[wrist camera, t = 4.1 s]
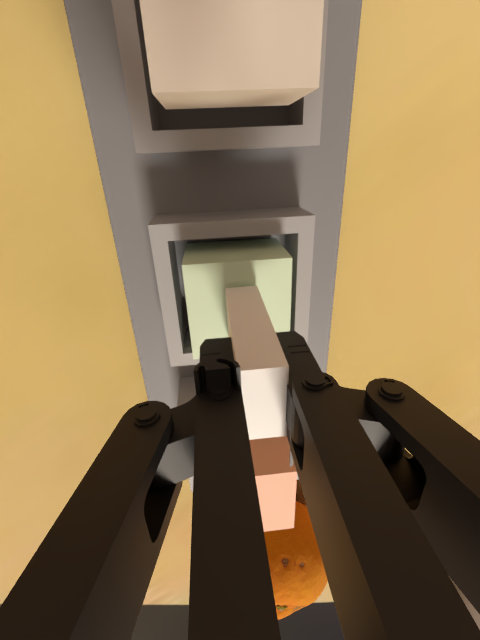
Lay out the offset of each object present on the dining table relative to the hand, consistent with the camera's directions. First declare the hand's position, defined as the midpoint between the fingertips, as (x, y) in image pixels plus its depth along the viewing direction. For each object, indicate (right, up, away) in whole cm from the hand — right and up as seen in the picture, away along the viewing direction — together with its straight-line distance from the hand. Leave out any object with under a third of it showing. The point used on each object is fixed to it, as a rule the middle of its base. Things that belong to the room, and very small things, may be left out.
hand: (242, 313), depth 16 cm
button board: (-1, +3, +6) cm, 6 cm away
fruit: (+2, -19, +17) cm, 26 cm away
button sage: (-1, +2, +4) cm, 4 cm away
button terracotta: (0, -9, +6) cm, 11 cm away
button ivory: (-1, +10, -3) cm, 11 cm away
